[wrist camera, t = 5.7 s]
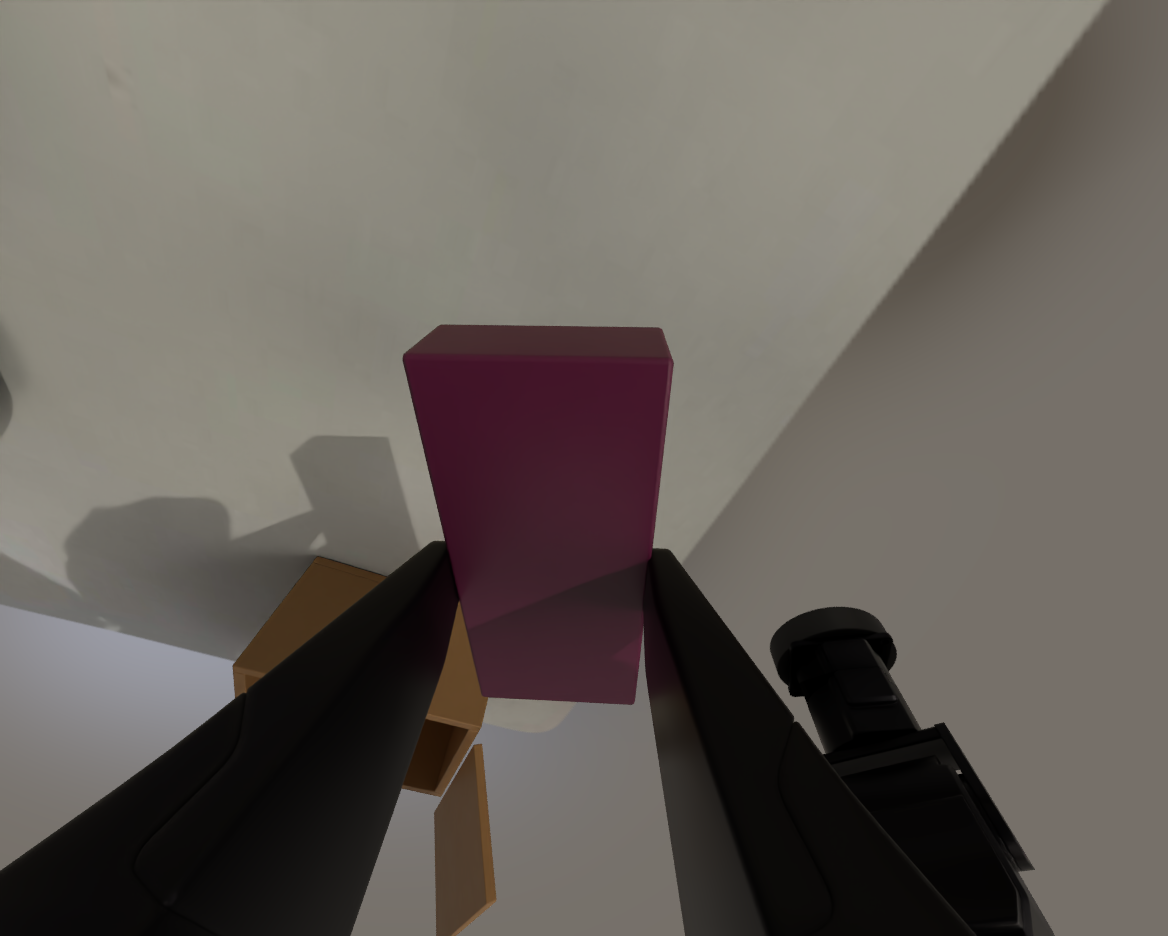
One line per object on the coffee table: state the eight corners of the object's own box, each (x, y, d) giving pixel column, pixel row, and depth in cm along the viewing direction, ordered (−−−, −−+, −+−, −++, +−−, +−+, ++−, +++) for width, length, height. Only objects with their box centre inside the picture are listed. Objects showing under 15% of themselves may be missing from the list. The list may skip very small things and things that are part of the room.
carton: (508, 612, 26) (481, 727, 20) (470, 687, 31) (440, 797, 25) (317, 555, 24) (231, 665, 18) (308, 645, 29) (238, 753, 23)
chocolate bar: (663, 325, 7) (675, 359, 5) (632, 647, 11) (634, 706, 10) (437, 323, 7) (398, 354, 6) (495, 641, 11) (480, 698, 10)
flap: (473, 744, 20) (482, 742, 20) (434, 812, 24) (441, 810, 25) (486, 904, 16) (496, 901, 16) (436, 948, 21) (445, 945, 21)
